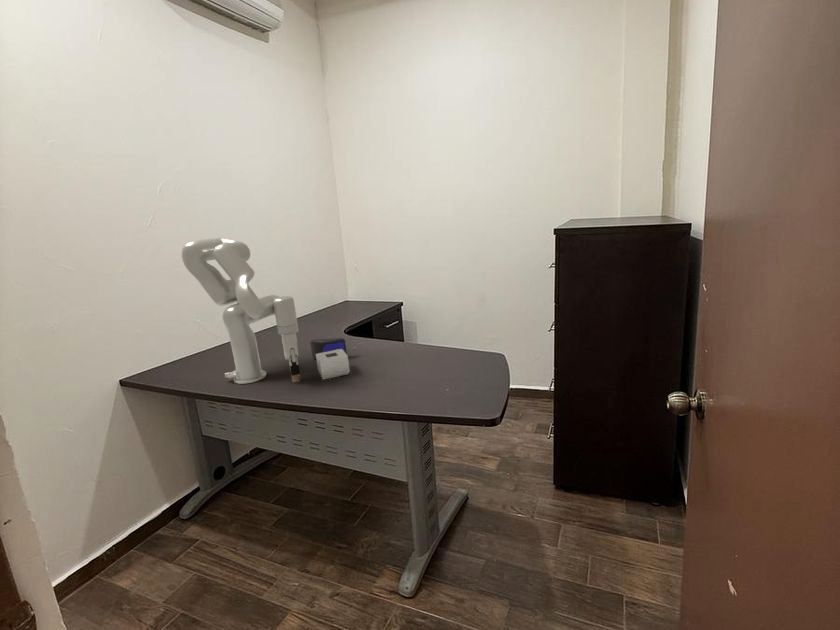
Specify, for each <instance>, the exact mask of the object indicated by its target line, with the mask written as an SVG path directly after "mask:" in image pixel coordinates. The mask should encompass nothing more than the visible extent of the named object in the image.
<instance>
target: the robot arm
mask: <svg viewBox="0 0 840 630" xmlns="http://www.w3.org/2000/svg"><path fill="white" fill-rule="evenodd" d="M250 258H251V249H250V248H249V247H248V245H247V244H245V243H244V242H242V241H239V240H234V239H233V240H232V239H227V238H222V237H221V238H220V237H214V238H212V237H211V238H204V239H197V240H196V239H195V240H191V241H189V242H186V243H185V244H184V246H183V247H182V249H181V259H182V263H183V264H184V266H185V268H186V269H187V271H188V272H189V273H190V274H191V275H192V276H193V277H194V278H195V279H196V280H197V282H199V284H200V285H201V287H202V288H203V289H204V291H205V292H206V293H207V295H208V296H209V297H210V298H211V300H212V301H213V303H215V304H216V305H218V306H221V307H223V306H228V305H229V306H228V307H226V308H225V309H224V311H223V312H222V320H223V324H224V325H225V327H226V330H227V333H228V337H229V341H230V347H231V351H232V352H231V353H232V355H233V361H234V365H235V370H232V371H231V372H225V373H224V377H225V379H226V378H228V379H232V378H233V382H234V383H235V384H238V385H244V384H245V385H246V384H252V383H256V382H259V381H260V380H263V379H264V378H266V376H267V372H266V370H263V369H262V365H261V360H260V354H259V353H260V352H259V348H258V344H257V337H256V334H255V331H254V330H253V329H252V328H251V326H250V325H251V324H254V323H257V322H259V321H261V320H263V319H266V318H268V317H271V316H274V317H275V322H276V328H277V332H278V333H277V334H278V335H279V336H280V335H281V342H282V344H281V345H282V348H283V349H282V350H283V354H284V358H285V360H287V361H289V359H290V365H291V366H290V365H289V364H288V365H289V372H290V376H291V375H292V376H293V375H298V374H300V375H301V372H300V366H299V361H298V358H299V356H300V355H299V347H298V338H297V333H298V332H299V323H298V318H297V311H296V306H295V305H296V304H295V299H294V298H293V297H292V296H291V295H284V296H280V295H279V296H278V295H274V294H273V295H267V296H263V297H260V298H259V297H258V296H257V294H256V293H255V292H254V290H253V288H251V286H250V285H249V282H251V280H252V279H253V278H254V277H255V271H254V269H253V268H252V267H251V265H250V264H249V263H248V261H249V259H250ZM214 260H215V261H216V262H217V264H218V265H219V266H220V267H221V268H222V270H224V272H225V274H226V275H227V276H228V277H229V279H226V278H225V276H224V275H222V273H221V271H219V269H217V268H216V267H215V266H214V265H212V264H210V263H208V262H209V261H214ZM290 357H292V358H290ZM291 360H292V361H291ZM297 361H298V362H297ZM290 369H291V371H290Z"/></svg>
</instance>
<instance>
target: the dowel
mask: <svg viewBox="0 0 840 630" xmlns="http://www.w3.org/2000/svg"><path fill="white" fill-rule="evenodd" d="M290 358H292V357H290ZM291 361H292V360H291ZM297 362H298V363H299V361H298V360H297ZM288 365H290V359H288ZM290 366H291V365H290ZM290 366H289V367H290ZM290 371H291V369H290V368H289V372H290ZM290 377H291V381H292V383H293V382H298V381H300V380H301V373H300V374H298V375H293V376H292V375H291V374H290ZM300 382H301V381H300ZM298 383H299V382H298Z"/></svg>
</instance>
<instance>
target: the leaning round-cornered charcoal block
mask: <svg viewBox="0 0 840 630" xmlns="http://www.w3.org/2000/svg"><path fill="white" fill-rule="evenodd" d="M309 344H310V349H311V356H312V359H313V360H315V359H316V354H318V353H323V352H328V351H333V350H338V349H343V351H344V352H345V353H346V354H347V355H348V353H347V344H346V340H345V338H343V337H342V338H341V337H339V338H336V337H335V338H316V339H311V340H310V342H309ZM315 361H317V359H316V360H315Z"/></svg>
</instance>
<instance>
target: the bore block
mask: <svg viewBox="0 0 840 630" xmlns="http://www.w3.org/2000/svg"><path fill="white" fill-rule="evenodd" d="M316 359H317V360H316V365H317V371H319V372H318V374H319V373H320V374H319V376H320V375H321V376H320V378H321V377H322V378H321V380H322V379H325V378H329V377H333V376H337V375H341V374H345V373H349V372H350V373H351V371H350V364H349V363H350V362H349V356H348V353H347V354H346V353H345V352H344V351H343V349H338V350H333V351H328V352H323V353H318V354H316Z"/></svg>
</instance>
